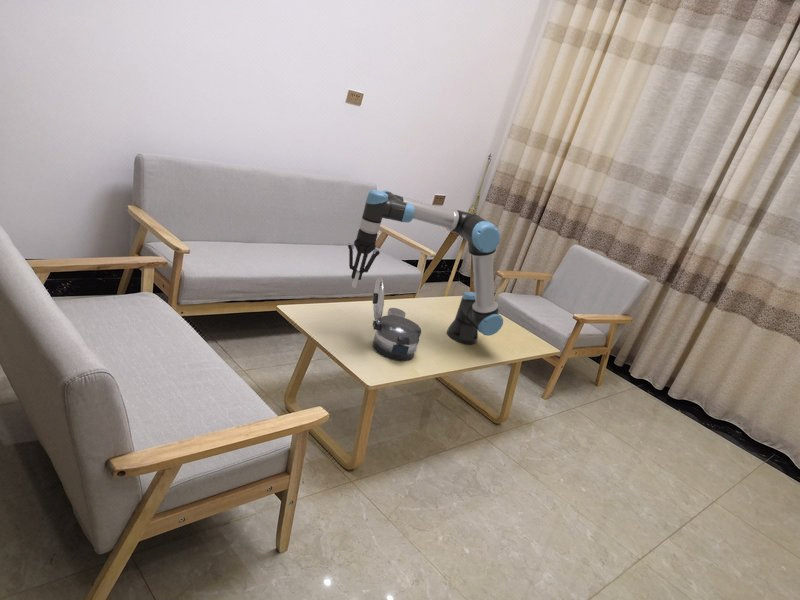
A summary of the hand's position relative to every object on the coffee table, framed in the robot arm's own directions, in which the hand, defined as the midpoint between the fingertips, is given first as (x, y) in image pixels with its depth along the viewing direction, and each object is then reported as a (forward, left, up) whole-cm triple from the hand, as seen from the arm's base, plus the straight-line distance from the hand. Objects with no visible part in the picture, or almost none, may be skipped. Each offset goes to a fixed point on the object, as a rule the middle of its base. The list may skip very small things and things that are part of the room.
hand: (353, 286), depth 216 cm
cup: (-25, -19, -25) cm, 40 cm away
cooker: (-23, 0, -25) cm, 34 cm away
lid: (-13, 0, -4) cm, 13 cm away
